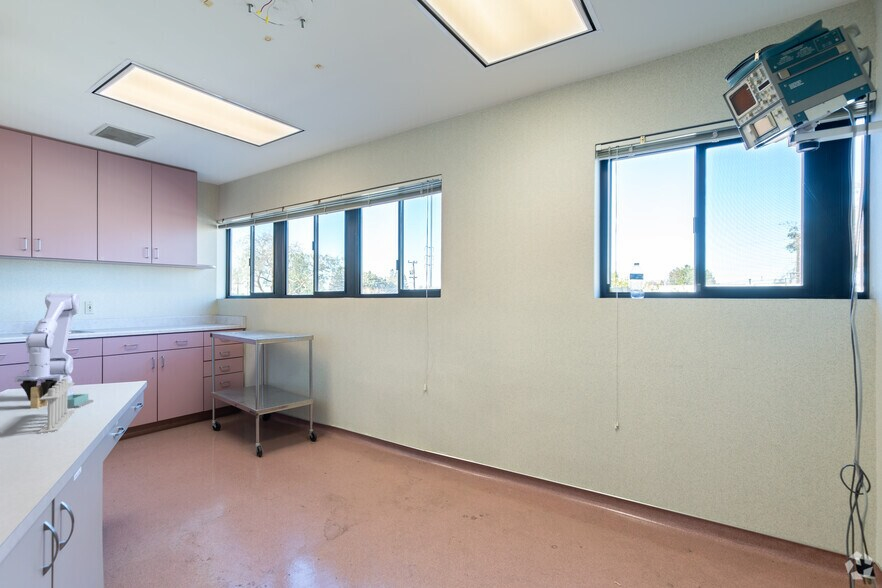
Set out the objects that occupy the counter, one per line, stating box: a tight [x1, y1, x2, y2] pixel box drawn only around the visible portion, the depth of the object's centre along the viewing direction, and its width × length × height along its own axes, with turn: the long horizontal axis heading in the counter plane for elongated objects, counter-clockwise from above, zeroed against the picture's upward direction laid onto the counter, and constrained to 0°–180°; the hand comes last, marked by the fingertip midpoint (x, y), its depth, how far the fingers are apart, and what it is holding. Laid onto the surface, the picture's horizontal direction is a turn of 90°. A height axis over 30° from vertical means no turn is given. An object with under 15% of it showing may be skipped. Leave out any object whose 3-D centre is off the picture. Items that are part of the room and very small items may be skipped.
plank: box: [30, 384, 48, 409], centre depth 155 cm, size 5×2×8 cm, turn 13°
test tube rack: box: [38, 378, 75, 435], centre depth 137 cm, size 25×4×13 cm, turn 33°
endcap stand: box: [67, 393, 94, 409], centre depth 158 cm, size 9×9×3 cm
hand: (39, 399), depth 155 cm, fingers open, 4 cm apart
